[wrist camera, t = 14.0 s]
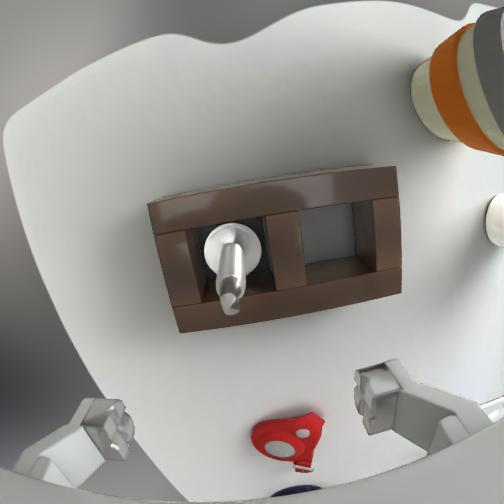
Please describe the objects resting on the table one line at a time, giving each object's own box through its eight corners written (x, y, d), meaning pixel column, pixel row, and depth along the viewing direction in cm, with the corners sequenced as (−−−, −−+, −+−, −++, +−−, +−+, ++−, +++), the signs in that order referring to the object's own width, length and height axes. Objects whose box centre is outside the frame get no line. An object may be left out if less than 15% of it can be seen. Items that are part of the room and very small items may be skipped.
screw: (238, 280, 29) (196, 250, 29) (270, 239, 29) (227, 208, 28) (240, 360, 17) (166, 315, 16) (295, 297, 16) (218, 243, 15)
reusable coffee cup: (436, 29, 23) (524, -14, 8) (496, 118, 26) (591, 116, 11) (372, 82, 25) (470, 32, 10) (443, 180, 28) (553, 201, 13)
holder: (162, 196, 27) (146, 203, 22) (371, 164, 27) (396, 165, 22) (187, 308, 30) (179, 333, 25) (379, 274, 30) (401, 293, 25)
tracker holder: (234, 445, 34) (284, 416, 30) (244, 422, 38) (292, 390, 34) (301, 485, 34) (357, 462, 30) (307, 462, 38) (359, 436, 34)
